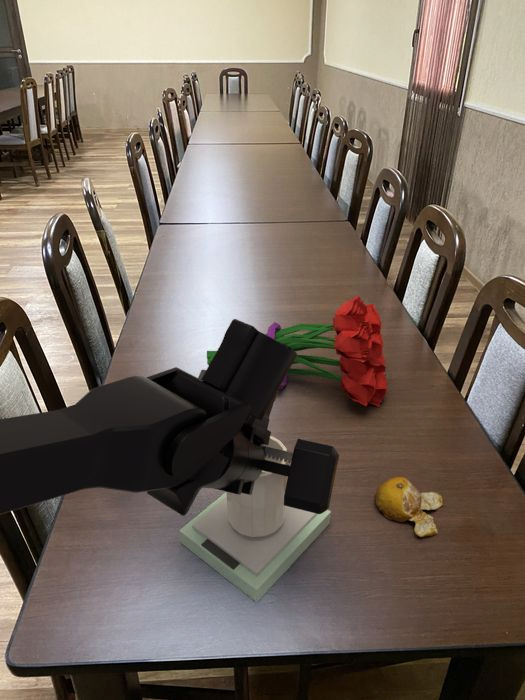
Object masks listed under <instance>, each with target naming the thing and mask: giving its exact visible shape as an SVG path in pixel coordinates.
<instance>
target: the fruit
mask: <svg viewBox="0 0 525 700" xmlns="http://www.w3.org/2000/svg"><path fill="white" fill-rule="evenodd" d="M373 496H374V501H375V504H376V507H377V508H378V511H379V512H382V513H383V516H384V517H386V518H387V519H388V520H389V521H391V520H392V521H395V522H399V523H404V522H406V521H410V522H414V523H415V526H414V529H413V532H414V534H416V536H417V537H419V538H424V537H433V536H434V535H437V534H438V533H439V532H438V529H437V525H436V524H435V522H434V517H433V516H431V515H430V514H428V513H426V512H425V511H423V510H427V511H430V510H437V509H439V508H441V507H442V506H443V505H444V498H443V496H441V494H439V493H438V492H435V491H428V492H426V491H425V492H420V490H419V489H418V488H417V487H416V486H414V485H413V483H412V482H411V481H410V480H409V479H408V478H407V477H405V476H394V477H390V478H388V479H386V480H385V481H383V482H382V483H380V484H379V486H378V487H377V489H376V491H375V494H374V495H373Z"/></svg>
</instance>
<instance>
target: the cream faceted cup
mask: <svg viewBox="0 0 525 700" xmlns="http://www.w3.org/2000/svg"><path fill="white" fill-rule="evenodd" d="M263 446H266V447H270V448H275V449H279V450H284V451H288V449H287V447H286V446H285V444H283V442H282V441H281V440H280V439H278V438H276V437H275V436H273V435H270V440H269V444H268V445H264V444H263ZM265 460H268V461H272V462H276V463H281V464H285V465H289V463H288V459H287V461H286V462H284V459H283V460H282V461H280V458H279V459H278V460H276V457H275V458H274V459H272V456H271V458H268V455H267V457H265ZM287 479H288V477H287V476H283V475H279V474H275V473H271V472H266V471H262V472H261V474H260V476H259V477H258V479H257V480H255V483H254V487H253V491H252V495H248V494H244V493H241V495H238V494H234V493H230V492H227V517H228V521H229V523H230V524H231V526H232V527H233V529H235V530H236V531H237V532H239V533H240V534H242V535H246V536H250V537H262V536H266V535H269V534H271V533H274V532H275V531H276V530H277V529H278V528H279V527H281V526H282V524H283V521H284V518H285V512H286V506H284V493H285V489H286V484H287Z"/></svg>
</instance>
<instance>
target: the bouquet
mask: <svg viewBox="0 0 525 700" xmlns="http://www.w3.org/2000/svg"><path fill="white" fill-rule="evenodd" d="M300 331H307V332H305V333H303V334H300V333H297V332H300ZM327 332H335V333H336V334H335V335H334V337H327V336H322V335H323V334H325V333H327ZM264 334H265V335H267V336H269V337H271V338H272V339H274V340H276V341H277V342H280V343H282V344H284V345H287V346H289V347H291V348H292V349H293V350H294V351H295V352H300V351H305V350H311V349H328V350H329V349H331V350H335V354H336V355H339V356H340V357H339V360H337V359H334V358H330V357H326V356H325V357H324V356H316V355H304V354H297V356H296V358H295V360H294V362H293V363H292V365H297V364H302V365H304V366H307V367H310V368H312V369H306V368H305V369H304V368H291V367H290V369H289V371H288V373H287V375H286V377H285V378H284V380H283V382H282V384H281V386H280V388H279V390H283V388H285V386H286V385H287V382H288V376H291V375H292V376H313V377H320V378H325V379H329V380H335V381H339V382H340V383H341V384H340V385H341V386H340V388H341V390H342V391H345V393H346V395H347V397H349V399H351V401H353V402H357V403H359V404H361V405H363V406H365V407H367V406H368V404H370V405H373V406H376V407H380V406H381V403H382V402H383V400H384V399H385V397H386V394H387V388H388V380H387V376H386V360H385V356H384V354H383V350H384V341H383V340H384V339H383V335H382V321H381V316H380V314H379V312H378V311H377V307H375V304H374V303H369V304H365V303H364V300H362V299H361V297H360V296H359V295H358V294H357V295H356V296H354V297H353V298H352V299H350V300H347V301H345V302H344V303H343V304H342V305H341V306H340V307H338V309H336V312H335V314H334V317H332V323H331V324H330V323H328V324H327V323H299V324H296V325H292V326H289V327H285V328H282V327H281V324H279V323H278V322H276V321H274V322H273V323H272V324H271V325H269V326H268V329H267V332H266V333H264ZM216 352H217V350H206V364H207V367H208V366H209V365H210V363H211V361H212V359H213V357H214V356H215V354H216ZM317 364H319V365H326V366H333V367H339V369H340V372H341V373H343V375H342V376H339V375H337V374H335V373H333V372H331V371H330V370H327V369H326V368H323V367H321V366H319V365H317ZM313 369H315V370H313Z"/></svg>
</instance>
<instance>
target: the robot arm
mask: <svg viewBox="0 0 525 700" xmlns="http://www.w3.org/2000/svg"><path fill="white" fill-rule="evenodd" d="M265 334H266V333H263V332H261V331H259V330H258V328H256V327H255V326H253V325H251V324H249V323H247V322H244V321H243V320H239V319H237V318H234V319H232V320H231V322H230V323H229V325H228V327H227V329H226V331H225V332H224V336H223V338H222V341H221V343H220V345H219V347H218V348H217V349H216V351H217V352H216V354H215V356H214V357H213V359H212V361H211V363H210V365H209V366H208V365H207V368H206V369H201V370H200V372H199V374H198V377H197V376H194V375H193V374H191V373H189V372H187V371H185V370H183V369H181V368H180V367H177V366H176V367H172V368H170V369H169V368H168V369H166V370H164V371H160V372H157V373H155V374H152V375H149V376H146V377H145V376H141V375H132V376H128V377H125V378H122V379H119V380H115V381H112V382H109V383H106V384H103V385H99V386H97V387H93V388H92V389H90V390H89V391H88V392H87V393H86V394H85V395H83V396H82V397H81V398H80V399H79V400H78V401H77V402H76V403H75V404H72V405H69V406H65V407H62V408H60V409H56V410H49V411H44V412H37V413H31V414H25V415H18V416H11V417H5V418H0V515H3V514H7V513H11V512H14V511H17V510H20V509H23V508H27V507H30V506H33V505H37V504H40V503H44V502H46V501H50V500H54V499H57V498H60V497H63V496H67V495H70V494H74V493H76V492H79V491H83V490H91V489H107V490H114V491H120V492H128V493H134V494H140V493H147V495H149V497H150V496H151V497H152V498H154V500H157V501H158V502H160V503H162V504H163V505H164V506H166V507H167V508H170V509H171V511H173V512H176V513H177V514H179V515H180V516H182V517H185V516H186V515H187V514H188V513H189V511H190V509H191V507H192V505H193V503H194V502H195V500H196V498H197V496H198V494H199V493H200V491H202V489H214V490H218V491H222V492H230V493H234V494H238V495H241V493H244V494H248V495H252V491H253V487H254V483H255V480H257V479H258V477H259V476H260V474H261V472H262V471H266V472H271V473H275V474H279V475H283V476H287V484H286V489H285V493H284V506H288V507H292V508H296V509H300V510H304V511H308V512H312V513H316V514H322V513H323V512H325V511H327V510H330V509H329V508H330V503H331V498H332V493H333V489H334V483H335V479H336V473H337V468H338V463H339V458H340V453H338V451H337V449H336V448H335V447H334V446H333V445H329V444H325V443H320V442H315V441H311V440H305V439H300V438H297V440H296V442H295V445H294V447H293V452H292V451H288V450H287V451H284V450H279V449H275V448H270V447H266V446H263V444H264V445H268V444H269V440H270V436H272V431H270V430H269V429H268V427H269V423H270V416H271V413H272V410H273V406H274V403H275V401H276V399H277V393H278V391H279V390H280V389H279V388H280V386H281V384H282V382H283V380H284V378H285V377H286V375H287V373H288V371H289V369H290V368H291V367H292V366H293V364H292V363H293V362H294V360H295V358H296V356H297V355H298V354H297V351H294V350H293V349H292V348H291V347H289V346H287V345H284V344H282V343H280V342H277V341H276V340H274V339H272V338H271V337H269V336H267V335H265ZM267 455H268V458H271V456H272V459H274V458H275V457H276V460H278V459H279V458H280V461H282V460H283V459H284V462H286V461H287V459H288V465H285V464H281V463H276V462H272V461H268V460H265V457H267ZM289 464H290V465H289Z"/></svg>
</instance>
